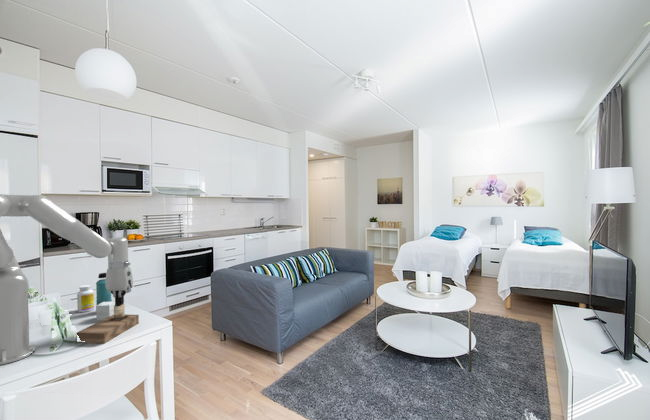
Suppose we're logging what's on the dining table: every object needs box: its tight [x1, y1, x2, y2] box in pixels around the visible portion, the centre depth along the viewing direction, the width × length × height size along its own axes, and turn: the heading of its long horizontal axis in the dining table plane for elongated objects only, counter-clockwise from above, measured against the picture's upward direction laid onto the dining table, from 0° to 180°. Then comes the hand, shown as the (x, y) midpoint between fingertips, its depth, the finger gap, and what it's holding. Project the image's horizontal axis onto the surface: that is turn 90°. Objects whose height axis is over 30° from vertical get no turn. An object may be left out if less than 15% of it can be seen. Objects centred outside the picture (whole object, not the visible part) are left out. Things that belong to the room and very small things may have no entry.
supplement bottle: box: [76, 284, 95, 313], centre depth 157 cm, size 7×7×13 cm
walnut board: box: [75, 313, 140, 344], centre depth 131 cm, size 20×12×4 cm, turn 176°
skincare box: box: [95, 300, 115, 322], centre depth 147 cm, size 6×6×7 cm
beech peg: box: [114, 304, 125, 321], centre depth 136 cm, size 4×4×10 cm
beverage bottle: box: [95, 272, 112, 306], centre depth 155 cm, size 6×7×20 cm
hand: (119, 305), depth 136 cm, fingers closed
